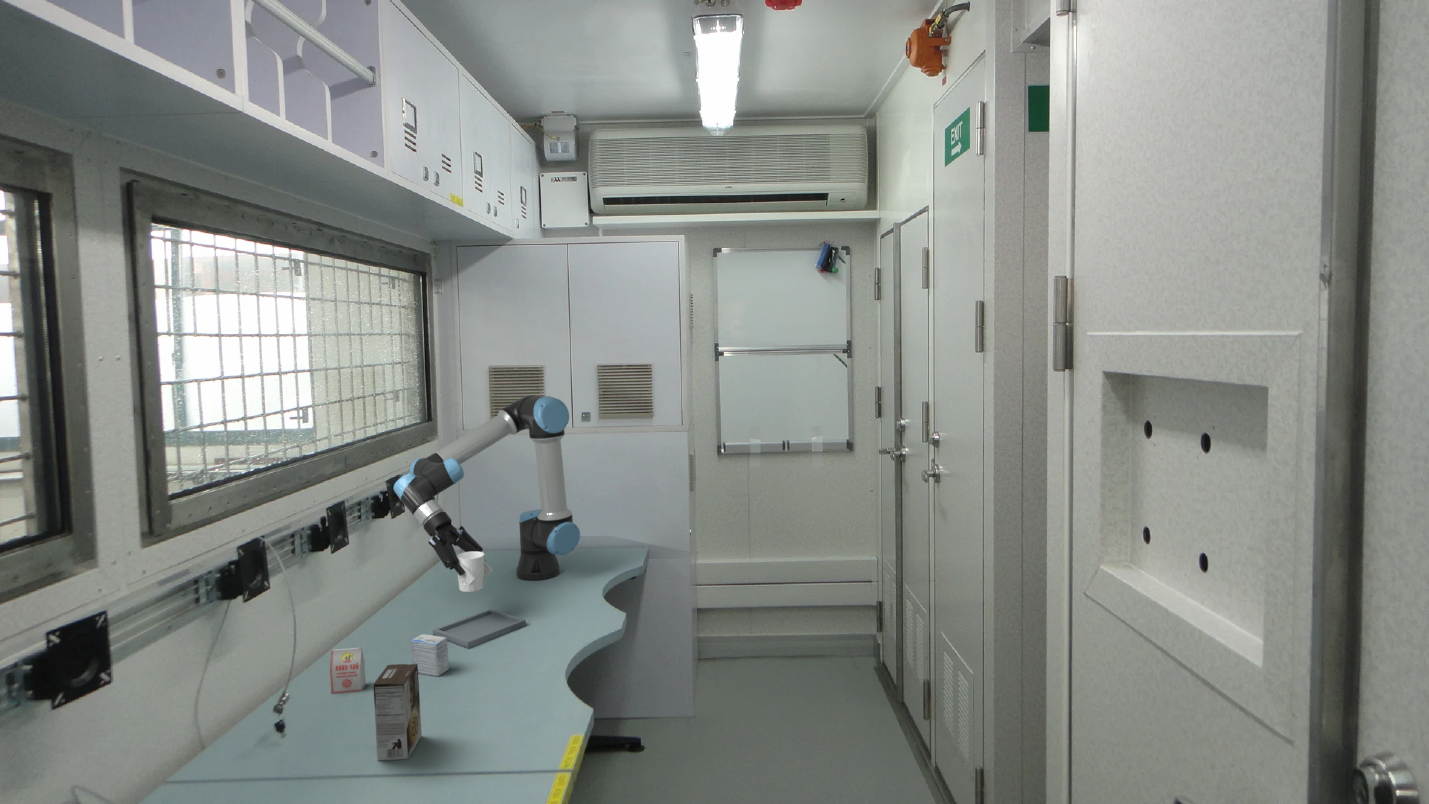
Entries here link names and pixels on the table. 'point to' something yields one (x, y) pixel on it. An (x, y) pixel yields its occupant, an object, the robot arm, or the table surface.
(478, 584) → the white cup
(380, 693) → the coffee box
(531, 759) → the table surface
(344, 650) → the white paper packet
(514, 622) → the tray
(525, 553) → the robot arm
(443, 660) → the medicine box
